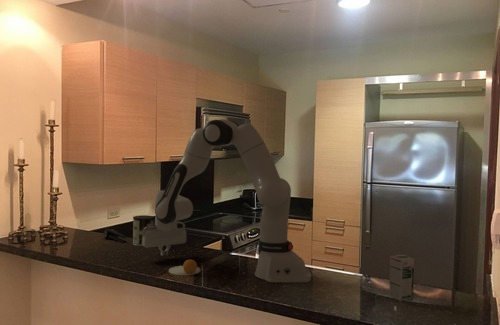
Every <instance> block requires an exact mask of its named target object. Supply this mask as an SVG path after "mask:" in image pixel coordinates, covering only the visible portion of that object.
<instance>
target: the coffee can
mask: <svg viewBox="0 0 500 325" xmlns="http://www.w3.org/2000/svg"><path fill="white" fill-rule="evenodd" d="M132 218H133V220H132V221H133V222H132V245H134V246H137V247H144V246H143V245H142V238H143V234H142V231H143V229H144V228H145V227H146V226H154V219H155V217H154V216H153V215H145V214H144V215H143V214H142V215H134V216H133V217H132ZM145 229H146V228H145ZM149 229H150V228H149Z"/></svg>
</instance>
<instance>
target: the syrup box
mask: <svg viewBox="0 0 500 325" xmlns="http://www.w3.org/2000/svg"><path fill="white" fill-rule="evenodd" d="M414 278H415V258H414V257H412V256H410V255H406V254H397V255H390V256H389V290H388V291H389V292H388V293H389V294H388V295H389V297H391V298H394V299H395V300H398V301H400V302H403V301H408V300H413V299H414V282H415V280H414Z"/></svg>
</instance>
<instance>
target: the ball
mask: <svg viewBox="0 0 500 325" xmlns="http://www.w3.org/2000/svg"><path fill="white" fill-rule="evenodd" d="M182 266H183V269H184V271H185V272H186V273H193V272H195V270H196V268H197V267H198V265H197V262H196V261H195V260H194V259H186V260H185V261H184V262H183V264H182Z"/></svg>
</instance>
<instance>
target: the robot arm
mask: <svg viewBox="0 0 500 325" xmlns="http://www.w3.org/2000/svg"><path fill="white" fill-rule="evenodd" d="M228 146H229V147H230V146H234V147H235V148H236V149H237V151H238V153H239V156H240V157H241V159H242V161H243V163H244V165H245V167H246V169H247V171H248V173H249V175H250V178H251V182H252V185H253V188H254V190H255V192H256V197H257V200H258V202H259V203H260V205H262V211H261V216H260V221H259V224H260V225H259V226H260V227H259V239H258V243H257V244H258V246H257V249H258V250H257V252H258V258H257V259H258V260H257V265H256V269H255V272H254V276H255V277H257V278H259V279H260V280H264V281H266V282H268V283H308V282H310V281H311V280H312V274H311V272H310V271H308V270H307V268H306V263H305V260H304V259H303V258H302V257H300V256H299V255H298V254H297V253H296V252H294V251H293V249H294V245H293V243H292V241H289V240H288V232H289V231H288V228H289V216H290V208H291V207H290V206H291V196H292V188H291V185H290V183H289V182H288V181H287V180H286V179H284V178H281V177H280V175H279V172H278V170H277V167H276V164H275V161H274V158H273V156H272V154H271V153H270V150H269V149H268V147H267V145H266V143H265V141H264V139H263V138H262V136H261V134H260V133H259V131H258V130H257V129H256V128H255V127H254V125H253V124H250V123H243V124H240V125H239V123H237V122H235V121H233V120H227V119H224V118H223V119H222V118H221V119H212V120H210V121H208V122H207V123H205V125H204V126H203V127H201V128H199V127H198V128H196V129H194V130H193V132H191V135H190V137H189V139H188V141H187V144H186V146H185V149H184V153H183V155H182V157H181V159H180V161H179V163H178V164H177V165H176V167H174V169H173V172H172V173H171V175H170V177H169V180H168V182H167V185H166V187H165V189H161V190H158V191H157V193H156V195H155V203H154V205H155V208H154V214H155V215H154V216H155V217H154V225H153V226H146V227H145V228H146V229H145V228H144V229H143V231H142V234H143V238H142V245H143V246H142V247H143V248H146V249H149V248H156V247H157V248H158V250H159V251H160V256H168V255H169V251H170V249H171V247H172V245H173V246H174V245H179V244H180V245H183V244H185V243H186V242H187V230H186V229H185V227H186V224H185V223H183V222H182V220H185V219H188V218H191V217H192V215H193V213H194V204H193V202H192V200H190V199H189V198H187V197H185V196H183V195H180V193H181V191H182V189H183V187H184V185H185V184H186V183H187V182H188V181H189V180H191V179H192V178H194V177H196V176H199V175H200V174H203V172H205V170H206V169H207V167H208V165H209V162H210V159H211V156H212V152H213V150H214V149H215V147H228ZM149 228H150V229H149ZM164 246H165V248H166V249H165V250H163V249H164Z"/></svg>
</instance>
